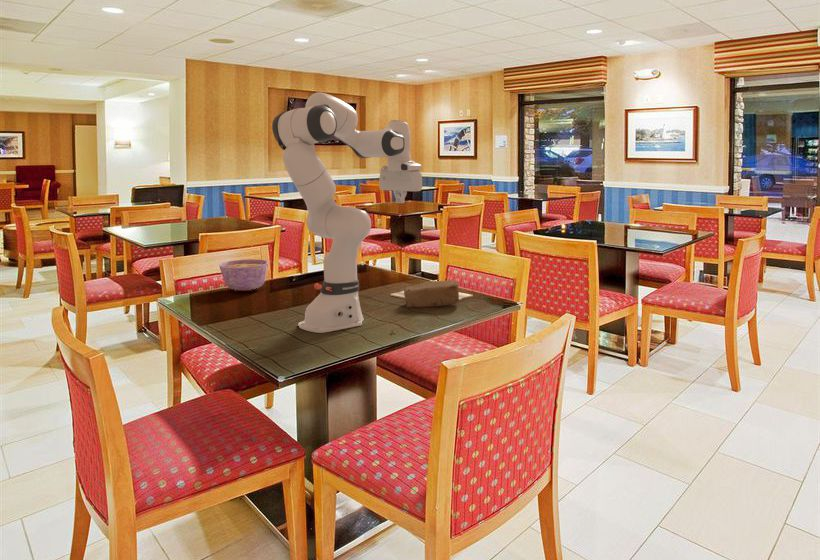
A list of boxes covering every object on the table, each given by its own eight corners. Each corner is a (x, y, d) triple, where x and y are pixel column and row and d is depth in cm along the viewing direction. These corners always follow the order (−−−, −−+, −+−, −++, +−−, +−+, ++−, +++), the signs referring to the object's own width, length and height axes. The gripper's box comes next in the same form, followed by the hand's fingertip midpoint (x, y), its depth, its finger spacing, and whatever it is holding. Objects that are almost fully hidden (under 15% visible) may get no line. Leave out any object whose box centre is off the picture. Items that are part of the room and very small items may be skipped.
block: (457, 285, 221) (402, 291, 223) (460, 305, 223) (405, 310, 225) (457, 277, 231) (404, 282, 233) (459, 295, 234) (407, 301, 235)
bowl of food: (280, 288, 264) (278, 261, 261) (245, 297, 247) (242, 269, 245) (247, 283, 274) (245, 257, 272) (211, 292, 258) (208, 265, 255)
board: (438, 306, 227) (438, 304, 227) (390, 295, 245) (390, 294, 245) (473, 296, 241) (473, 294, 241) (425, 287, 259) (425, 285, 259)
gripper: (374, 165, 235) (375, 202, 238) (412, 166, 221) (413, 204, 224) (386, 165, 239) (387, 201, 242) (424, 165, 225) (425, 203, 228)
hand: (400, 202), depth 233 cm, fingers closed
